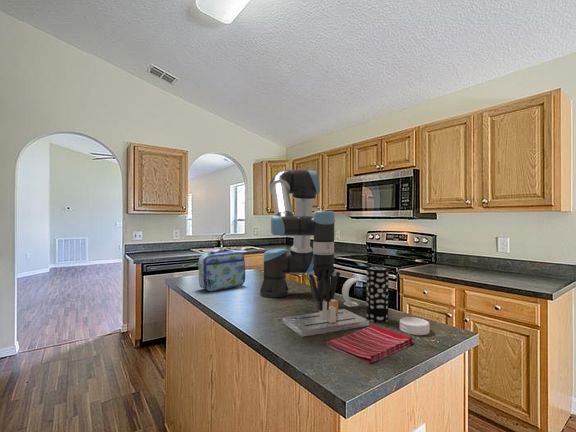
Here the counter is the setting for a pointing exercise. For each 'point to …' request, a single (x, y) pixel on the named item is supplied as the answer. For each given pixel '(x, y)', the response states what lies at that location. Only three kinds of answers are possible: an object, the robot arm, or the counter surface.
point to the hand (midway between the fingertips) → (323, 319)
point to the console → (324, 323)
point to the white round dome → (414, 326)
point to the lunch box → (221, 270)
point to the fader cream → (331, 314)
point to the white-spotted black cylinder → (377, 294)
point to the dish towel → (371, 343)
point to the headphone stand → (346, 292)
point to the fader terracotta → (334, 304)
